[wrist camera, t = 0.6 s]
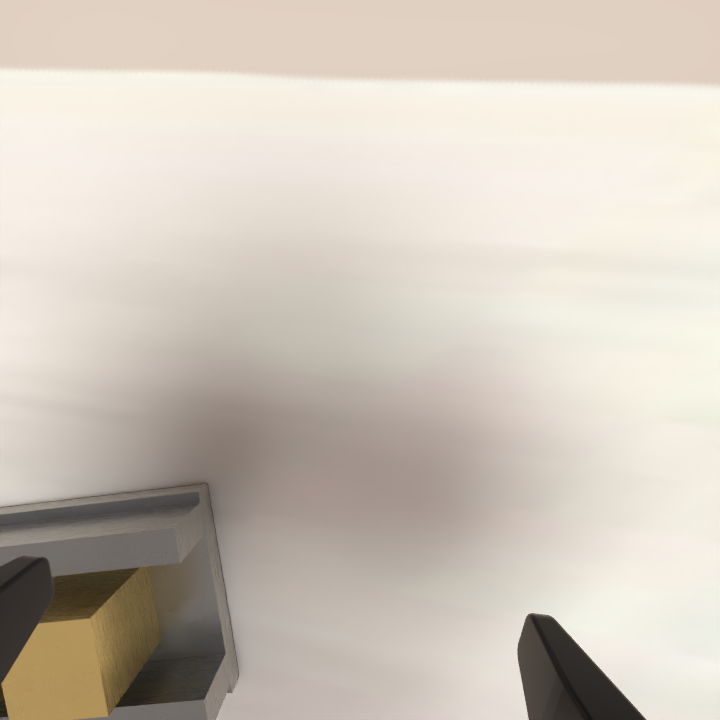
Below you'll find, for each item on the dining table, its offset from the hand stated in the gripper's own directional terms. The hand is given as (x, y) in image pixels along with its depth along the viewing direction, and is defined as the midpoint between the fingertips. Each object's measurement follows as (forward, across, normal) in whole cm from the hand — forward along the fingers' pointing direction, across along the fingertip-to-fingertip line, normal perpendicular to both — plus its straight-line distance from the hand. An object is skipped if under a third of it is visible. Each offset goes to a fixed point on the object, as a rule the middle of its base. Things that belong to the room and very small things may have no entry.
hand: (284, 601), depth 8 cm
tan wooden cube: (+9, +10, +12) cm, 18 cm away
